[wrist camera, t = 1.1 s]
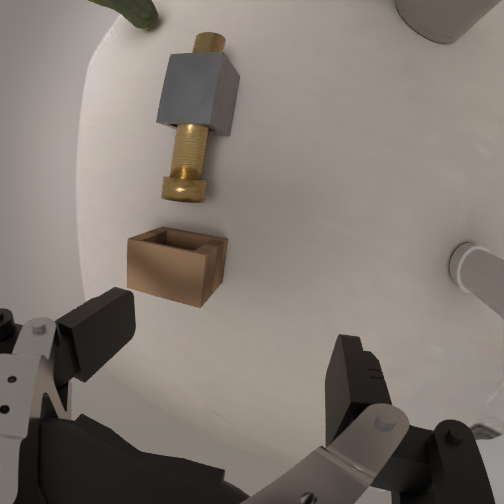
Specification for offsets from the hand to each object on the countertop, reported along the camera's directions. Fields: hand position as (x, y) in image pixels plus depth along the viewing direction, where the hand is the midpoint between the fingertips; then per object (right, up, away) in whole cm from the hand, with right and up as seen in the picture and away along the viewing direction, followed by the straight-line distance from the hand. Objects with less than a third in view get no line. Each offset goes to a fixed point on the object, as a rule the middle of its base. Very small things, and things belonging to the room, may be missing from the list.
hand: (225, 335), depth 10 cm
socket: (-6, +3, +22) cm, 23 cm away
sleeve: (-3, +19, +17) cm, 26 cm away
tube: (-4, +17, +16) cm, 24 cm away
